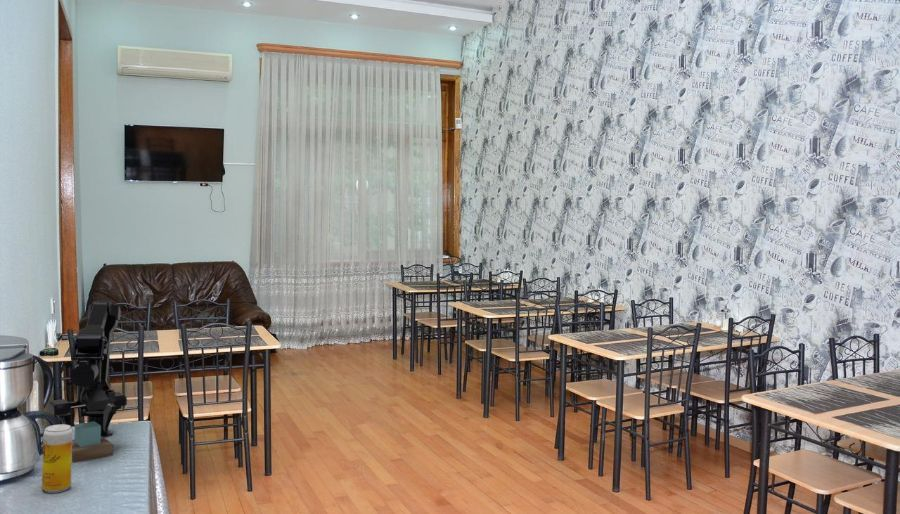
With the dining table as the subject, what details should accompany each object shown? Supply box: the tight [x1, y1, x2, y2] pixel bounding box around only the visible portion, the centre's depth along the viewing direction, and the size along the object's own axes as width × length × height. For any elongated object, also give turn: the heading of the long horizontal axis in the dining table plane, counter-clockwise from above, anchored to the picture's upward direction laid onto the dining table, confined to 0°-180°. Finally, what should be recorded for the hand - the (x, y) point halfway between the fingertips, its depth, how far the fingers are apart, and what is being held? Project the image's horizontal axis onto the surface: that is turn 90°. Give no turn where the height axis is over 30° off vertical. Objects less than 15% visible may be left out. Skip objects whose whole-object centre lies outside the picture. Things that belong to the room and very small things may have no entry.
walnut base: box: [72, 436, 114, 463], centre depth 195 cm, size 10×10×3 cm
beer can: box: [41, 423, 73, 494], centre depth 170 cm, size 6×6×15 cm
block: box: [74, 421, 101, 447], centre depth 195 cm, size 5×5×5 cm
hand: (87, 434), depth 195 cm, fingers open, 9 cm apart
